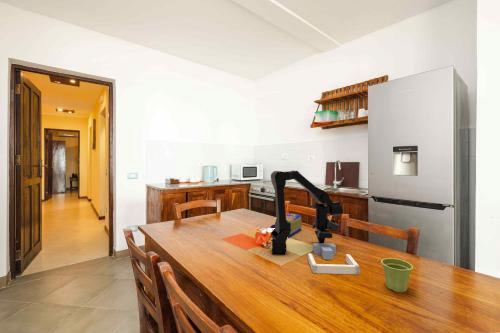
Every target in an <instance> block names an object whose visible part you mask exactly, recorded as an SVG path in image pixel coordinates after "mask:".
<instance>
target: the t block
mask: <svg viewBox="0 0 500 333" xmlns="http://www.w3.org/2000/svg"><path fill="white" fill-rule="evenodd" d="M312 252H313V255H320V256H321V258H322V259H323V260H327V261H329V260H331V261H332V260H333V259H334V257H333V256H335V255H337V246H336V244H335V243H329V242H327V243H325V242H324V243H319V242H317V243H316V242H313V243H312Z"/></svg>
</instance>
